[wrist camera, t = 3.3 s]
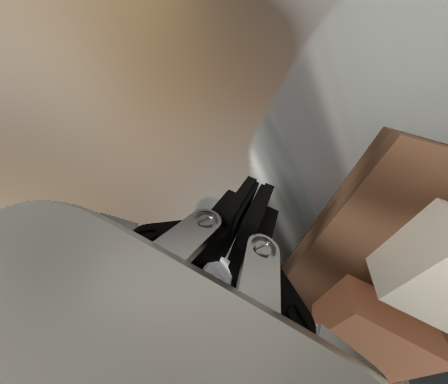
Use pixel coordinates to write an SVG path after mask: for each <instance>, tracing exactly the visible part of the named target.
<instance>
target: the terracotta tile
mask: <svg viewBox="0 0 448 384" xmlns="http://www.w3.org/2000/svg"><path fill="white" fill-rule="evenodd" d="M312 317H313V318H314V321H315V322H316V323H317V324H318V325H320V324H323V325H324V326H325V327H326V328H328V329H329V330H330V331H331V332H333V333H334V334H335V335H337V336H338V337H339V338H340V339H342V340H343V341H344V342H345V343H347V344H348V345H349V346H350V347H352V348H353V349H354V350H355V351H357V352H358V353H359V354H360V355H362V356H363V357H364V358H365V359H367V360H368V361H369V362H371V363H372V364H373V365H374V366H376V367H377V368H378V369H379V370H380V371H381V372H382V373H383V374H384V375H385V377H386V378H387V380H388V381H389V382H390V383H397V382H401V381H406V380H411V379H415V378H420V377H425V376H429V375H434V374H439V373H443V372H448V343H447V342H446V340H445V338H444V336H443V334H442V332H441V330H439V329H437V328H435V327H433V326H431V325H429V324H427V323H425V322H423V321H421V320H419V319H417V318H415V317H413V316H411V315H409V314H407V313H405V312H403V311H401V310H398V309H396V308H394V307H392V306H390V305H388V304H386V303H384V302H382V301H380V300H378V297H377V294H376V291H375V287H374V286H372V285H370V284H368V283H366V282H364V281H362V280H360V279H358V278H356V277H353V276H351V275H349V274H347V275H346V276H345V277H343V278H342V279H341V280H340V281H339V282H338V283H336V284H335V285H334V286H333V287H332V288H331V289H329V290H328V291H327V292H326V293H325V294H324V295H322V296H321V297H320V298H319V299H318V300H317V301H315V302H314V303H313V304H312Z"/></svg>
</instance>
